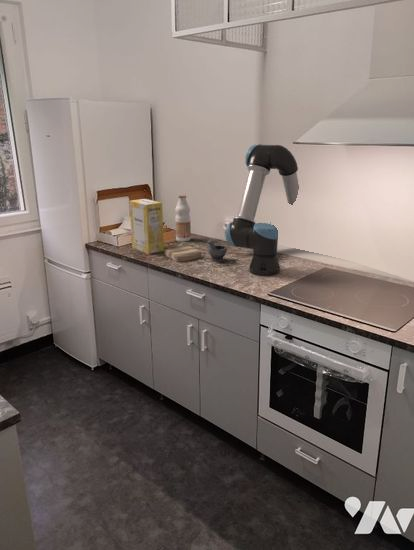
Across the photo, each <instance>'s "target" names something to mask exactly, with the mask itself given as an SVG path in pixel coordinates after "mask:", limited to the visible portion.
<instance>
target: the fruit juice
mask: <svg viewBox="0 0 414 550" xmlns="http://www.w3.org/2000/svg"><path fill="white" fill-rule="evenodd" d="M177 197H178V201H177V203H176V206H175V210H174V211H175V218H174V221H175V239H176V241H177V242H188V241H190V240H191V237H192V235H191V233H192V232H191V216H190V213H191V212H190V211H191V208H190V206H189V204H188V201H187V195H186V194H179V195H178V196H177Z"/></svg>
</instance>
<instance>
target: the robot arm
mask: <svg viewBox="0 0 414 550" xmlns="http://www.w3.org/2000/svg"><path fill="white" fill-rule="evenodd" d="M244 159H245V165H246V167H247V168H246V169H247V171H248V176H247V179H246V183H245V186H244V189H243V190H244V191H243V193H242V198H241V201H240V205H239V209H238V213H237V216H234V217H233V219H232V222H231V221H230V222H229V223H227V225H226V228H225V236H224V240H225V241H226V242H227V244H228V245H229V246H233V247H235V248H242V249H243V248H244V249H248V250H252V251H253V252H252V253H253V256H252V258H251V262H250V264H249V269H248V271H249V273H251V274H253V275H256V276H264V277H265V276H274V275H278V274H280V272H281V267H280V263H279V259H278V241H279V239H278V230H277V228H276V227H275V226H274V225H271V223H266V222H257V223H256V221H255V217H256V213H257V210H258V205H259V202H260V199H261V195H262V190H263V188H264V185H265V184H264V183H265V179H266V176H268V175H270V172H271V170H278V173H279V175H280V176H281V178H282V182H283V187H284V192H285V196H286V201H287V204H288V203H289V204H291V205H293V203H294V202H295V201H296V198H297V195H298V190H299V188H300V185H299V184H298V183H299V179H298V174H297V173H298V170H299V167H298V163H297V161H296V158H295V157H294V155H293V153H292V152H291V151H290V150H289V149H288V148H287V147H285V146H283V145H280V144H261V143H259V144H253V145H251V146H249V148H248V149H247V151H246V154H245V157H244Z"/></svg>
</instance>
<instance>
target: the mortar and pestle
mask: <svg viewBox="0 0 414 550" xmlns="http://www.w3.org/2000/svg"><path fill="white" fill-rule="evenodd" d="M207 244H208V247H207V248H208V250H207V251H208V254H209V255H210V257H211V261H213V262H219V263H220V262H223V261H224V257H225V256H226V254H227V252H228V251H227V249H228V248H227V246H225V245H219V244H217V245H215V244H214V241H213V239H209V240H207Z"/></svg>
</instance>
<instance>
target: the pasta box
mask: <svg viewBox="0 0 414 550" xmlns="http://www.w3.org/2000/svg"><path fill="white" fill-rule="evenodd" d="M128 203H129V216H130V218H129V219H130V232H131V248H133V249H135V250H138V251H140V252H142V253H145V254H147V255H151V254H155V253H160V252H165V246H164V245H165V243H164V239H165V238H164V218H163V202H161V201H156V200H152V199H148V198H141V199H139V198H138V199H133V200H129V202H128Z"/></svg>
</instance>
